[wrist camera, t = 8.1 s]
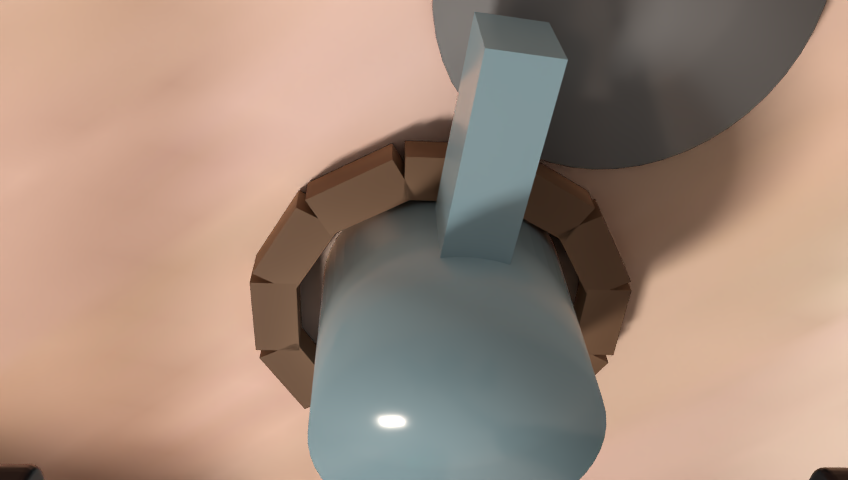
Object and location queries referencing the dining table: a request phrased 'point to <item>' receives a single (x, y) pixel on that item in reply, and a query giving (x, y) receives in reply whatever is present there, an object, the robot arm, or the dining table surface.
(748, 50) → the coaster
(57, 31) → the dining table surface
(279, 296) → the holder ring
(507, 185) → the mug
